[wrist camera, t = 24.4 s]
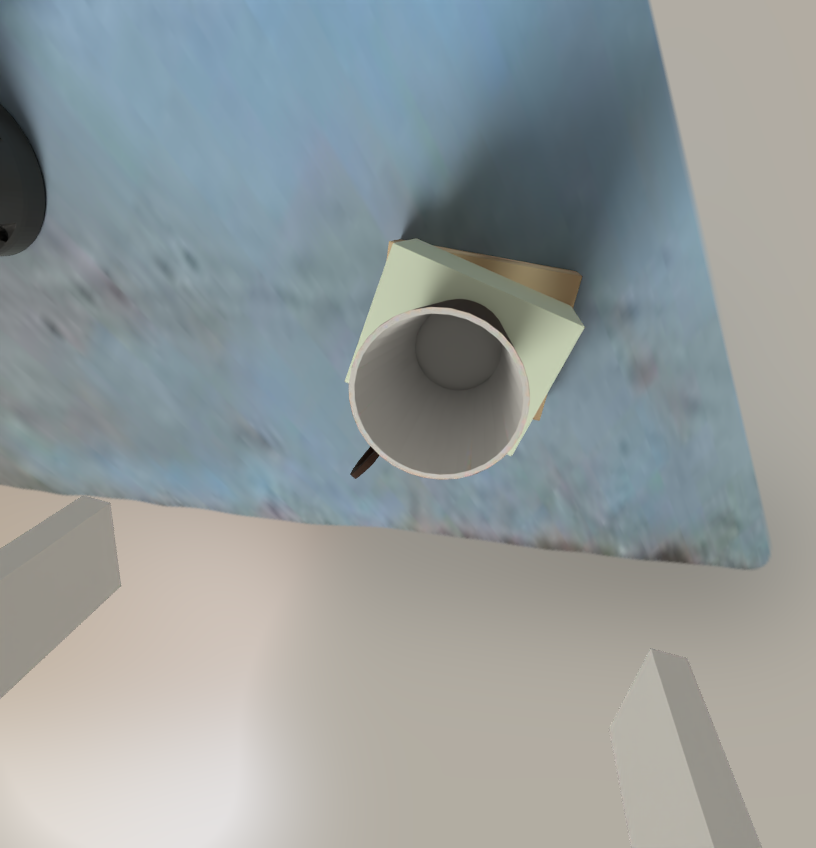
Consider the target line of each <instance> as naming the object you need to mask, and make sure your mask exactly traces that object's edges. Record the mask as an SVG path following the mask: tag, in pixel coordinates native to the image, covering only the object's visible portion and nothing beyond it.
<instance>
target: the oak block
mask: <svg viewBox="0 0 816 848" xmlns="http://www.w3.org/2000/svg"><path fill="white" fill-rule="evenodd" d="M401 241H406V240H401V239H399V240H394V241H389V246H388V254H387V259H388V256H389V253H390V250H391V247H392V244H393V243H396V242H401ZM433 246H434V245H433ZM435 247H437V248H440V249H442V250H444V251H447V252H449V253H451V254H453V255H456V256H458V257H460V258H463V259H465V260H467V261H469V262H472V263H474V264H476V265H479V266H481V267H483V268H485V269H488V270H490V271H492V272H495V273H497V274H499V275H501V276H504V277H506V278H508V279H511V280H513V281H515V282H517V283H520V284H522V285H524V286H527V287H529V288H531V289H533V290H536V291H538V292H540V293H543V294H545V295H547V296H549V297H552V298H554V299H556V300H559V301H561V302H563V303H565V304H568V305H570V306H571V307H572V308H573V306H574V303H575V299H576V296H577V293H578V289H579V286H580V282H581V279H582V276H581V275H580V274H579V273H578V272H576V271H572V270H567V269H561V268H556V267H550V266H545V265H539V264H534V263H528V262H523V261H517V260H511V259H506V258H500V257H495V256H489V255H484V254H478V253H473V252H467V251H462V250H456V249H451V248H445V247H440V246H435ZM546 397H547V395H546V396H545V398H544V400H543V402H542V403H541V405H540V407H539V409H538V411H537V412H536V414H535V416H534V418H533V419H534V420H540V417H541V414H542V410H543V407H544V403H545V400H546Z"/></svg>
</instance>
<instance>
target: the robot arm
mask: <svg viewBox="0 0 816 848" xmlns="http://www.w3.org/2000/svg"><path fill="white" fill-rule="evenodd" d="M44 212H45V192H44V185H43V179H42V175H41V171H40V168H39V165H38V162H37V159H36V157H35V154H34V152H33V150H32V147H31V145H30V143H29V142H28V140H27V138H26V136H25V135H24V133H23V131H22V130H21V128H20V127H19V125H18V124H17V123H16V121H15V120H14V119H13V118H12V116H11V115H10V114H9V113H8V112H7V111H6V110H5V109H4V108H3V107H2V106H1V105H0V256H10V255H14V254H17V253H19V252H22V251H23V250H25V249H26V248H27V247H29V246H30V245H31V244H32V243H33V241H34V240H35V238H36V237H37V235H38V233H39V231H40V229H41V226H42V223H43V218H44ZM119 587H121V582H120V574H119V567H118V559H117V552H116V544H115V535H114V528H113V520H112V512H111V505H110V503H109V502H105V501H102V500H98V499H94V498H91V497H87V496H81V497H80V498H78V499H77V500H75V501H74V502H72V503H71V504H69V505H67V506H66V507H65V508H63V509H61V510H60V511H58V512H57V513H55V514H54V515H52V516H50V517H49V518H47V519H46V520H44V521H43V522H41V523H39V524H38V525H36V526H35V527H33V528H32V529H30V530H29V531H27V532H25V533H24V534H22V535H21V536H19V537H18V538H16V539H15V540H13V541H12V542H10V543H9V544H7V545H5V546H4V547H2V548H0V699H1V698H2V697H3V696H4V695H5V694H6V693H7V692H8V691H9V690H10V689H11V688H12V687H13V686H15V685H16V684H17V683H18V682H19V681H20V680H21V679H22V678H23V677H24V676H25V675H26V674H27V673H29V671H31V670H32V669H33V668H34V667H35V666H36V665H37V664H38V663H39V662H40V661H41V660H42V659H43V658H45V656H47V655H48V654H49V653H50V652H51V651H52V650H53V649H54V648H55V647H56V646H57V645H58V644H59V643H60V642H62V641H63V640H64V639H65V638H66V637H67V636H68V635H69V634H70V633H71V632H72V631H73V630H75V629H76V627H78V626H79V625H80V624H81V623H82V622H83V621H84V620H85V619H86V618H87V617H88V616H89V615H91V614H92V613H93V612H94V611H95V610H96V609H97V608H98V607H99V606H100V605H101V604H102V603H103V602H104V601H106V600H107V599H108V598H109V597H110V596H111V595H112V594H113V593H114V592H115V591H116V590H117V589H118V588H119ZM609 731H610V736H611V742H612V747H613V753H614V758H615V763H616V769H617V774H618V779H619V784H620V790H621V796H622V801H623V806H624V812H625V817H626V822H627V828H628V833H629V838H630V843H631V848H762V846H761V844H760V841H759V839H758V836H757V834H756V831H755V829H754V826H753V823H752V821H751V818H750V816H749V813H748V811H747V808H746V806H745V803H744V801H743V798H742V796H741V793H740V791H739V788H738V785H737V783H736V780H735V778H734V775H733V773H732V770H731V768H730V765H729V763H728V760H727V758H726V755H725V752H724V750H723V747H722V745H721V742H720V740H719V737H718V735H717V732H716V730H715V727H714V725H713V722H712V720H711V717H710V715H709V712H708V709H707V707H706V704H705V702H704V699H703V697H702V694H701V692H700V689H699V687H698V684H697V682H696V679H695V676H694V674H693V672H692V669H691V666H690V664H689V662H688V659H687V658H685V657H681V656H678V655H673V654H670V653H666V652H662V651H659V650H655V649H650V650H649V652H648V654H647V656H646V658H645V660H644V662H643V664H642V666H641V668H640V670H639V671H638V674H637V675H636V677H635V679H634V681H633V683H632V685H631V687H630V689H629V691H628V693H627V695H626V697H625V698H624V700H623V702H622V704H621V706H620V708H619V710H618V712H617V714H616V716H615V718H614V719H613V721H612V723H611V726H610V727H609Z"/></svg>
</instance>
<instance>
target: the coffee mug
mask: <svg viewBox="0 0 816 848" xmlns="http://www.w3.org/2000/svg"><path fill="white" fill-rule="evenodd" d="M349 401H350V405H351V410H352V414H353V417H354V419H355V422H356V424H357V426H358V428H359V431H360V432H361V434H362V435H363V437H364V438H365V440H366V441H367V443H368V444H369V445H370V448H369V449H368V450H367V451H366V452H365V454H364V455H363V456H362V457H361V459H360V460H359V461H358V463H357V464H356V465H355V467H354V468H353V470H352V472H351V474H350V475H351V476H353V477H354V478H355V479H356V478H358V477H359V476H360V475H361V474H363V473H364V472H365V471H366V470H367V469H368V468H369V467H370V466H371V465H372V464H373V463H374V462H375V461H376V459H377V458H378V457H379V455H380V456H381V457H382V458H384V459H385V460H386V461H388V462H389V463H390V464H392V465H393V466H395V467H397V468H399V469H401V470H403V471H405V472H407V473H410V474H413V475H417V476H420V477H423V478H431V479H439V480H443V479H458V478H462V477H467V476H471V475H474V474H476V473H479V472H481V471H483V470H485V469H488V468H489V467H491V466H492V465H494V464H495V463H496V462H498V461H499V460H501V459H502V458H503V457H504V456H505V455H506V454H507V453H508V452H509V451H510V450H511V449H512V448H513V446H514V445H515V443H516V442H517V440H518V438H519V437H520V435H521V434H522V431H523V429H524V426H525V423H526V420H527V418H528V412H529V404H530V392H529V381H528V378H527V375H526V371H525V368H524V365H523V363H522V361H521V359H520V357H519V355H518V354H517V352H516V350H515V348H514V346H513V344H512V343H511V341H510V339H509V337H508V335H507V333H506V332H505V330H504V328H503V326H502V324H501V323H500V321H499V319H498V318H497V317H496V316H495V315H494V313H493V312H492V311H490V310H489V309H488V308H486V307H485V306H483V305H481V304H479V303H477V302H474V301H471V300H467V299H452V300H446V301H442V302H439V303H435V304H431V305H428V306H424V307H420V308H416V309H413V310H410V311H407V312H404V313H402V314H399V315H396V316H394V317H392V318H391V319H389V320H388V321H386V322H384V323H383V324H381V325H380V326H379V327H378V328H377V329H376V330H375V331H374V332H372V333H371V334H370V335H369V336H368V337H367V339H366V340H365V342H364V343H363V345H362V346H361V348H360V349H359V351H358V352H357V355H356V357H355V360H354V362H353V365H352V368H351V374H350V379H349Z"/></svg>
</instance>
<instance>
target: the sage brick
mask: <svg viewBox="0 0 816 848" xmlns="http://www.w3.org/2000/svg"><path fill="white" fill-rule="evenodd" d="M452 299H467V300H471V301H474V302H477V303H479V304H481V305H483V306H485V307H486V308H488V309H489V310H490V311H492V312H493V313H494V315H495V316H496V317H497V318H498V319H499V321H500V323H501V324H502V326H503V328H504V330H505V332H506V333H507V335H508V337H509V339H510V341H511V343H512V344H513V346H514V348H515V350H516V352H517V354H518V355H519V357H520V359H521V361H522V363H523V365H524V368H525V371H526V375H527V378H528V381H529V392H530V404H529V412H528V418H527V420H526V423H525V426H524V429H523V431H522V434H521V435H520V437H519V438H518V440H517V442H516V443H515V445H514V446H513V448H512V449H511V450H510V451H509V452H508V453H507V454H508V455H510V456H512V455H513V453H514V451H515V449H516V448H517V446H518V444H519V442H520V440H521V439H522V437H523V435H524V433H525V432H526V430H527V428H528V426H529V425H530V423H531V421H532V419H533V418H534V416H535V414H536V412H537V411H538V409H539V407H540V405H541V403H542V402H543V400H544V398H545V396H546V395H547V393H548V391H549V389H550V388H551V386H552V384H553V382H554V381H555V379H556V377H557V375H558V373H559V372H560V370H561V368H562V366H563V365H564V363H565V361H566V359H567V358H568V356H569V354H570V352H571V351H572V349H573V347H574V345H575V343H576V342H577V340H578V338H579V336H580V335H581V333H582V331H583V329H584V328H585V327H584V325H583V324H582V322H581V321H580V319H579V317H578V316H577V314H576V313H575V311H574V310H573V308H572V307H571V306H570V305H568V304H565V303H563V302H561V301H559V300H556V299H554V298H552V297H549V296H547V295H545V294H543V293H540V292H538V291H536V290H533V289H531V288H529V287H527V286H524V285H522V284H520V283H517V282H515V281H513V280H511V279H508V278H506V277H504V276H501V275H499V274H497V273H495V272H492V271H490V270H488V269H485V268H483V267H481V266H479V265H476V264H474V263H472V262H469V261H467V260H465V259H463V258H460V257H458V256H456V255H453V254H451V253H449V252H447V251H444V250H442V249H440V248H437V247H435V246H433V245H430V244H428V243H426V242H424V241H421V240H419V239H417V238H416V239H411V240H406V241H401V242H396V243H393V244H392V247H391V250H390V253H389V256H388V259H387V262H386V264H385V267H384V270H383V273H382V276H381V279H380V282H379V285H378V287H377V290H376V293H375V296H374V299H373V302H372V305H371V308H370V310H369V313H368V316H367V319H366V322H365V325H364V328H363V331H362V333H361V336H360V339H359V342H358V345H357V348H356V351H355V354H354V356H353V359H352V362H351V365H350V368H349V371H348V374H347V377H346V379H345V382H347V383H349V379H350V374H351V368H352V365H353V362H354V360H355V357H356V355H357V352H358V351H359V349H360V348H361V346H362V345H363V343H364V342H365V340H366V339H367V337H368V336H369V335H370V334H371V333H372V332H374V331H375V330H376V329H377V328H378V327H379V326H380V325H381V324H383V323H384V322H386V321H388V320H389V319H391V318H392V317H394V316H396V315H399V314H402V313H404V312H407V311H410V310H413V309H416V308H420V307H424V306H428V305H431V304H435V303H439V302H442V301H446V300H452Z"/></svg>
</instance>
